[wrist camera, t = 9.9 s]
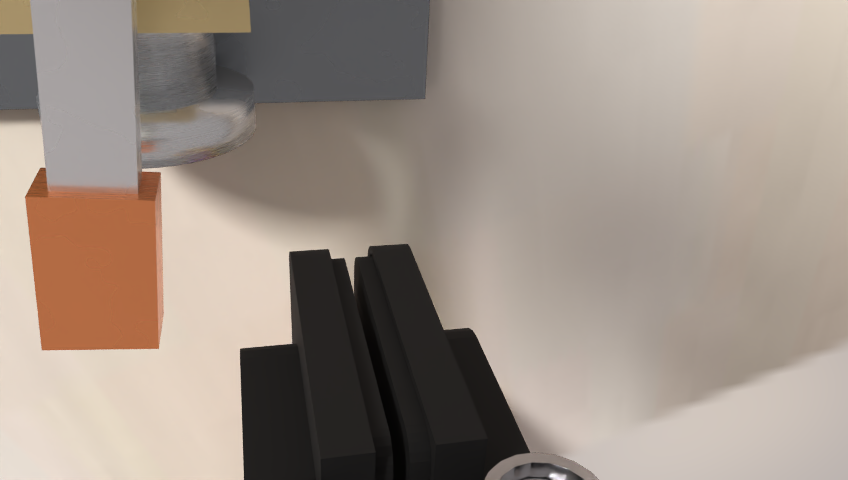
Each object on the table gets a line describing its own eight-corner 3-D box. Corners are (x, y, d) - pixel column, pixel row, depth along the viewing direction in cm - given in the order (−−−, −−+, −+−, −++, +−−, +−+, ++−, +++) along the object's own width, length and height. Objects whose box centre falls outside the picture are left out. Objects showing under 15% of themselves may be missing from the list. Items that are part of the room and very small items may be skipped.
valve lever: (7, -171, 19) (-15, -168, 18) (153, -151, 20) (146, -146, 18) (54, 313, 26) (41, 350, 24) (163, 313, 27) (158, 348, 25)
